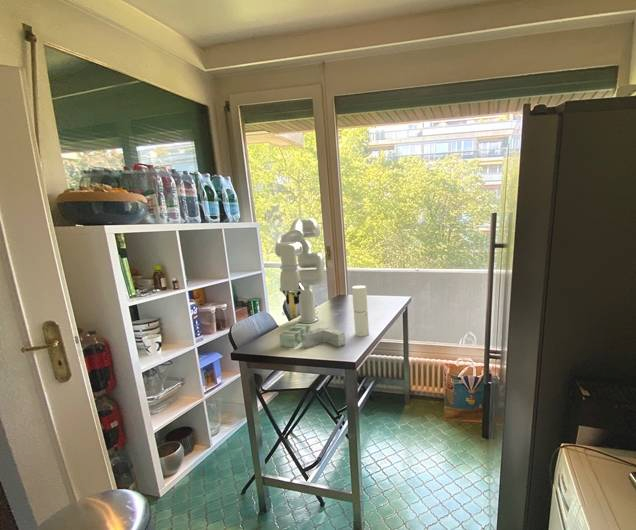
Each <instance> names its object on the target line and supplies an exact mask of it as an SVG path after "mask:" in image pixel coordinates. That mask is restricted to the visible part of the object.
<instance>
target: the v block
mask: <svg viewBox="0 0 636 530" xmlns="http://www.w3.org/2000/svg"><path fill="white" fill-rule="evenodd" d="M345 337H346V336H345V332H344V331H341V330H338V329H334V328H330V327H318V328H315V329H313V330H311V331H309V332H306V333H303V334H301V341H302V342H301V346H302V347H303V348H305V347H306V348H305V349H308V348H311V347H313V346H316V345H319V344H321V343H328V344H330V345H332V346H335V347H339V348H340V347H342V346H344V345H346V338H345Z"/></svg>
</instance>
